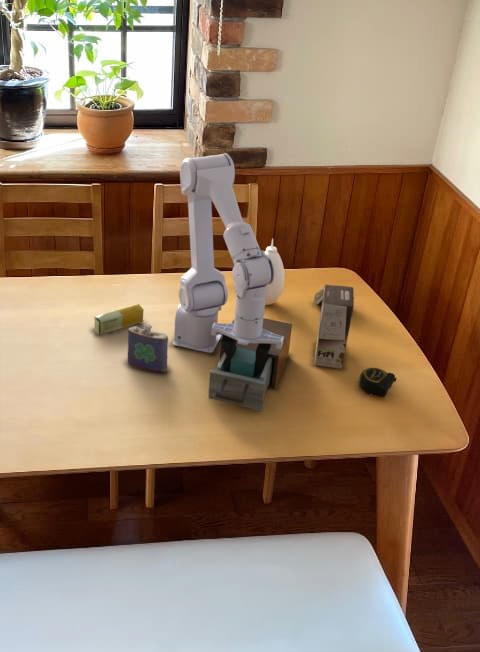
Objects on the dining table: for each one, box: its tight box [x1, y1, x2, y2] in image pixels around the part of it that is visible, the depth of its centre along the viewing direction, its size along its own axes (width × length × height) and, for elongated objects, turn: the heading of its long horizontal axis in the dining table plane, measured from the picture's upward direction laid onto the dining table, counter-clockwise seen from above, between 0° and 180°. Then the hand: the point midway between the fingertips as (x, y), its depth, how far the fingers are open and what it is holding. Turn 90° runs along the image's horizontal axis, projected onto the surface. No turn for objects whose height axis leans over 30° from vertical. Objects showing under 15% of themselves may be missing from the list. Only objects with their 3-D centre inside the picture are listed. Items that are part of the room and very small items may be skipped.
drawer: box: [207, 350, 275, 412], centre depth 165 cm, size 18×11×7 cm, turn 161°
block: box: [230, 347, 256, 378], centre depth 165 cm, size 5×5×5 cm
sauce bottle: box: [264, 237, 286, 306], centre depth 195 cm, size 8×8×18 cm
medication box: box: [93, 303, 145, 336], centre depth 188 cm, size 12×3×4 cm, turn 120°
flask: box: [127, 324, 169, 374], centre depth 173 cm, size 9×3×11 cm, turn 68°
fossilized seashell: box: [313, 285, 325, 307], centre depth 198 cm, size 8×7×10 cm
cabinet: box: [218, 317, 293, 390], centre depth 175 cm, size 14×13×9 cm
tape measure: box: [358, 367, 398, 398], centre depth 170 cm, size 7×7×4 cm
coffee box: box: [314, 284, 355, 370], centre depth 177 cm, size 9×6×16 cm
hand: (243, 369), depth 166 cm, fingers closed on block, 5 cm apart
